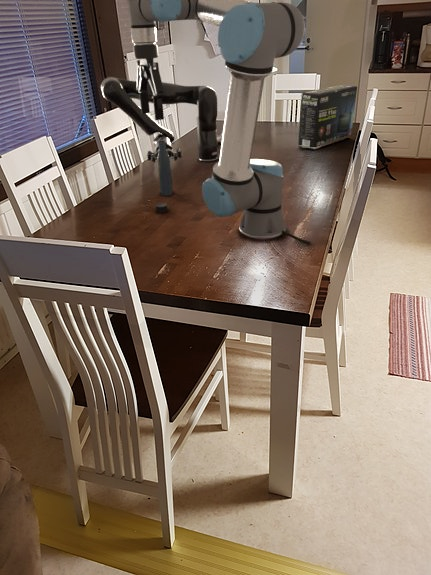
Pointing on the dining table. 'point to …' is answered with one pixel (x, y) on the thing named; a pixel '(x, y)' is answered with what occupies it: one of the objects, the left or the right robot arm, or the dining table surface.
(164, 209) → the cap
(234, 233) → the dining table surface
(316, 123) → the router box
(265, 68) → the right robot arm
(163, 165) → the bottle
